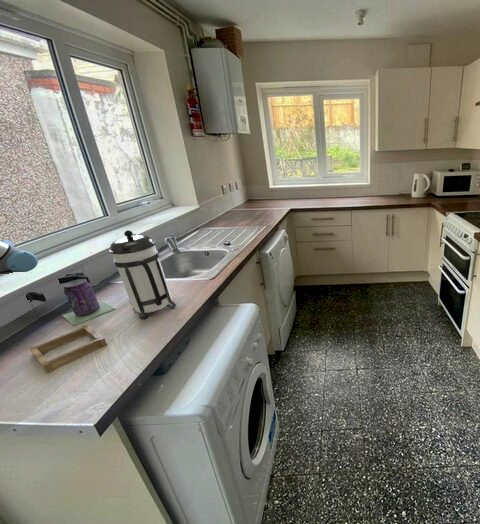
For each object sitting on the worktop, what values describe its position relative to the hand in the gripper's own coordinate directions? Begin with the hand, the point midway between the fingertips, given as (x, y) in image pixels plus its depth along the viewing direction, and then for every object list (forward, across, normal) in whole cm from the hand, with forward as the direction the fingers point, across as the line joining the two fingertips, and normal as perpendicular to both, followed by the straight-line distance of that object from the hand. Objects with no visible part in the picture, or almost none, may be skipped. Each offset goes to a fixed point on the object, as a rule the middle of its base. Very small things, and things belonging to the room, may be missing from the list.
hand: (67, 288), depth 103 cm
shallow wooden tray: (+24, +16, -9) cm, 31 cm away
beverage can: (+6, 0, -9) cm, 11 cm away
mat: (+6, 0, -9) cm, 11 cm away
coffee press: (+30, -8, -10) cm, 32 cm away
